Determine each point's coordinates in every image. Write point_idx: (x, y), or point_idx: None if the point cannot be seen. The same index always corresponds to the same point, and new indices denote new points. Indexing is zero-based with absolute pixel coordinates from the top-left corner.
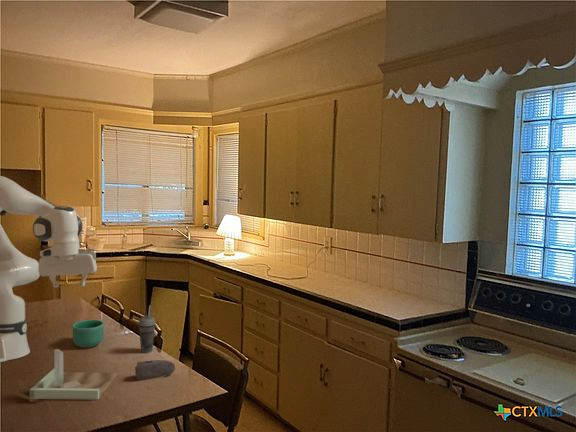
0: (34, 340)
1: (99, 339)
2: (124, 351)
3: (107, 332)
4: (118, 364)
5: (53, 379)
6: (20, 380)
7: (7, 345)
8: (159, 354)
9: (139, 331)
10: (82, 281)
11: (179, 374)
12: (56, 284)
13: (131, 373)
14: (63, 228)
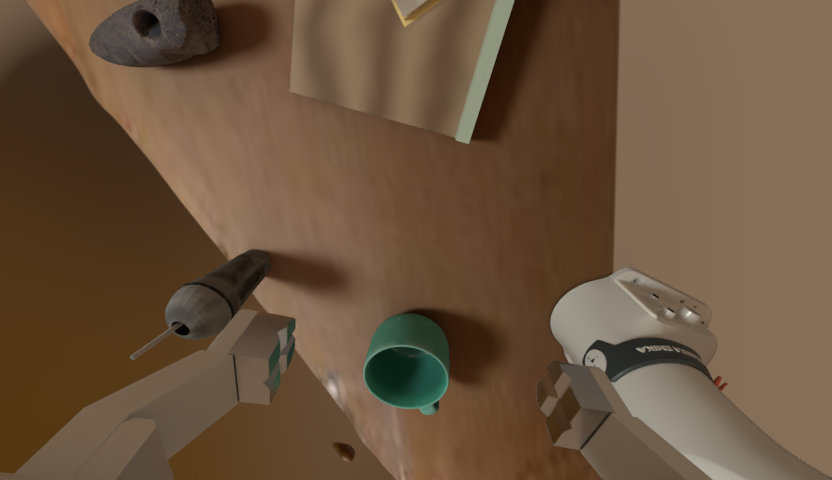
0: None
1: (378, 328)
2: (314, 272)
3: None
4: (311, 182)
5: (476, 65)
6: (571, 119)
7: (628, 305)
8: (217, 230)
9: (241, 293)
10: (217, 352)
11: None
12: (579, 390)
13: (259, 100)
14: None
